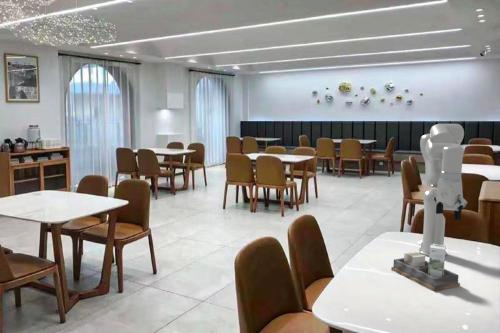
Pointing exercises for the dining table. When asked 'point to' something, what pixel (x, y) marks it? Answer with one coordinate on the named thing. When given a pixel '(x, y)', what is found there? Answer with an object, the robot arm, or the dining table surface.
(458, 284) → the divided tray
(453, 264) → the dining table surface
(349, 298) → the dining table surface
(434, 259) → the syrup box
